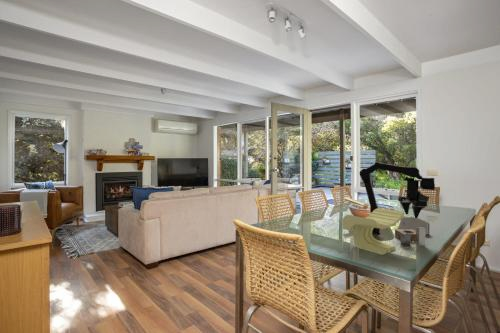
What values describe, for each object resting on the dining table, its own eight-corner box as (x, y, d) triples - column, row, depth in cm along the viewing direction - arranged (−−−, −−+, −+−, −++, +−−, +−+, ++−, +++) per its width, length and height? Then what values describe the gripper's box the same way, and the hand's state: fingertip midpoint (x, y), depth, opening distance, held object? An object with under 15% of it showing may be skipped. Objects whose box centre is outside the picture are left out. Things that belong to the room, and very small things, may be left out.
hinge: (396, 229, 169) (399, 214, 170) (400, 231, 171) (403, 216, 173) (426, 236, 155) (429, 219, 157) (429, 237, 158) (432, 221, 159)
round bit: (403, 246, 137) (403, 234, 137) (398, 243, 142) (399, 232, 142) (412, 246, 137) (412, 234, 137) (407, 243, 142) (407, 232, 141)
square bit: (418, 245, 138) (419, 228, 138) (415, 243, 141) (416, 226, 141) (424, 245, 138) (425, 228, 138) (421, 243, 141) (422, 226, 141)
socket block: (403, 241, 145) (403, 234, 145) (394, 236, 155) (394, 229, 155) (422, 241, 145) (422, 234, 144) (412, 236, 155) (412, 229, 154)
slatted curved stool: (373, 238, 151) (374, 207, 150) (403, 245, 138) (404, 211, 137) (342, 249, 133) (342, 213, 132) (373, 259, 120) (373, 219, 119)
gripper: (438, 191, 142) (436, 220, 143) (417, 187, 161) (415, 212, 161) (416, 190, 142) (415, 219, 143) (398, 186, 161) (397, 212, 162)
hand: (411, 216), depth 152 cm, fingers open, 9 cm apart
